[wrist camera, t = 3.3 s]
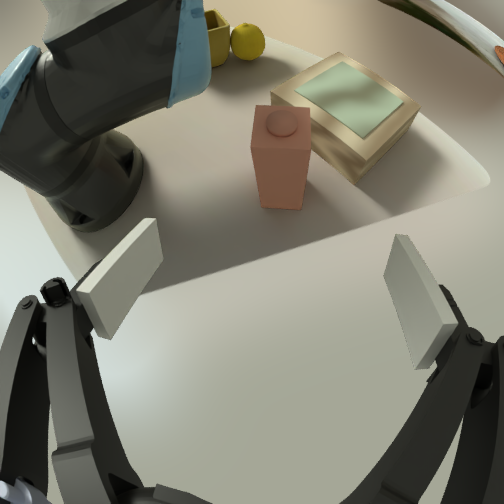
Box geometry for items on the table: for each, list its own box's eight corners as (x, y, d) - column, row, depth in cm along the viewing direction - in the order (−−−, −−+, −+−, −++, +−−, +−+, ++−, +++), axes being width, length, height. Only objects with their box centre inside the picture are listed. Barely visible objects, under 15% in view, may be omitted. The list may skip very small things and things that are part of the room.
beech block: (272, 121, 34) (270, 89, 28) (334, 79, 36) (338, 50, 30) (353, 186, 31) (367, 159, 25) (406, 131, 32) (421, 105, 26)
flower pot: (224, 44, 40) (215, 7, 31) (238, 66, 38) (230, 24, 29) (179, 59, 40) (165, 24, 31) (187, 83, 38) (171, 43, 29)
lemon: (263, 69, 37) (259, 31, 29) (230, 68, 38) (222, 31, 30) (269, 52, 38) (265, 16, 30) (238, 51, 39) (231, 16, 31)
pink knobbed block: (261, 207, 31) (249, 142, 19) (264, 173, 32) (255, 100, 20) (301, 210, 31) (311, 145, 18) (302, 175, 32) (310, 102, 19)
